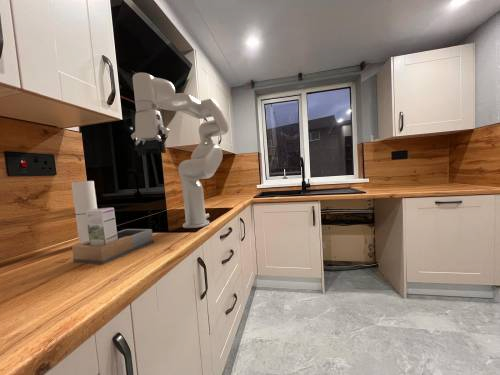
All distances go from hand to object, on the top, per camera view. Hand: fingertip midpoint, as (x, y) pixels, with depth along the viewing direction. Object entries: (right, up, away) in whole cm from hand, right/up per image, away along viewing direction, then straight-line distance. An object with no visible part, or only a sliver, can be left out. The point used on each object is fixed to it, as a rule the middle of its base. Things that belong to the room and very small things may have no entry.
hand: (151, 154), depth 85 cm
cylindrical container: (-26, -36, +4) cm, 44 cm away
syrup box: (-9, -34, -13) cm, 38 cm away
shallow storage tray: (-8, -35, -9) cm, 37 cm away
